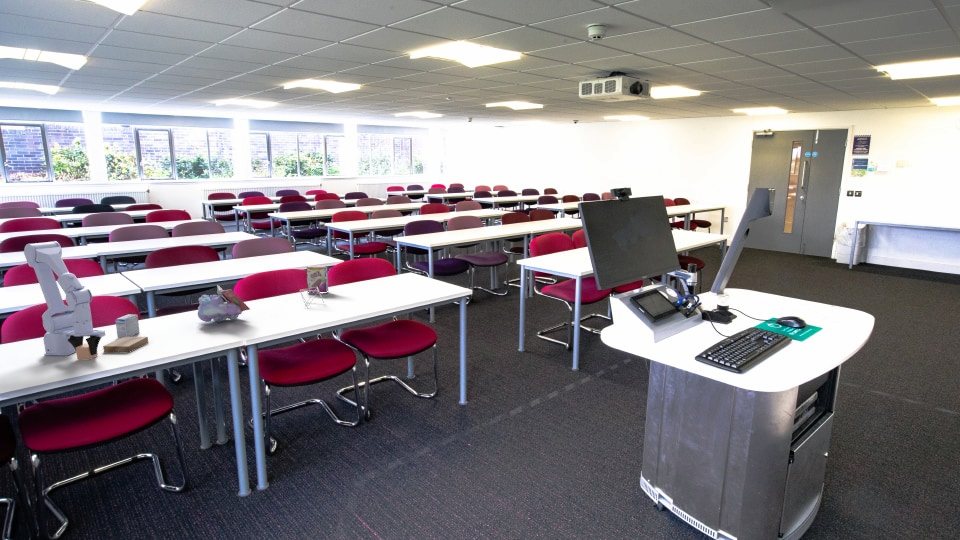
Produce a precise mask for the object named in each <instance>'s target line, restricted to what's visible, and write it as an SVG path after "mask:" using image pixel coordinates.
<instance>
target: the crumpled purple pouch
mask: <svg viewBox="0 0 960 540" xmlns="http://www.w3.org/2000/svg"><path fill="white" fill-rule="evenodd" d="M216 287H217V291H216V293H217V294H210V295H208V294H202V295H201V296H200V297H199V298H198V304H199V306H198V307H197V310H198V311H197V316H198V319H200V320H201V321H202V322H206V323H209V322H211V321H212V320H213V321H215V322H217V323H220V322H223V321H225V320H227V319H229V320H231V321H235V320H237V319H238V318H239V316H240V315H242V313H243V312H245V311H250V310H251V309H250V307H249V306H248V305H247V304H246V303H245V302H244V301H243V300H242V299H241V298H240V297H239V296H238V294H236V292H235V291H234V290H233V289H226V290H225V289H223V288H222V287H221V286H220V285H219V284H216Z"/></svg>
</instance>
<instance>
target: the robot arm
mask: <svg viewBox="0 0 960 540" xmlns="http://www.w3.org/2000/svg"><path fill="white" fill-rule="evenodd" d="M23 249H24V250H23V254H24V256H25V260H26V262H27V264H28V266H29V267H30V268H33V270H34V273H35V275H36V278H37V281H38V283H39V287H40V289H41V292H42V294H43V297H44V300H45V303H46V305H47V309H46V310H45V312H43V314H42V315H41V318H42V319H41V320H42V326H43V328H44V330H45V331H46V333H45V334H44V335H43V345H44V351H45V352H44V354H43V355H44V356H69V355H72V354H74V353H76V347H78V346H80V345H82V344H84V337H87V338H85V341H86V344H88V345H89V349H90V353H91V355H94V354H96V353H98V348H99V343H100V341H101V339H102V338H103V337H105V336H106V331H105V330H99V329H94V326H93V325H94V324H93V319H92V313H91V305H90V303H92V301H93V293H92V292H91V290H90V289H89V288H88V287H86V286H85V285H82V283H81V282H80V281H79V279H78V278H77V276H76V274H74V273H71V272H70V271H69V270H68V268H67V266H66V264H65V262H64V260H63V258H62V255H63V250H62V247H61V244H60V243H59V242H58V241H56V240H53V241H48V242H38V243H37V242H35V243H27V244H26V245H25V246H24V248H23ZM54 273H55V274H56V276H57V277H58V278H57V279H56V277H55V275H54ZM56 280H57V281H56ZM58 286H60V288H61V289H62V291H63V292H64V294H65V302H66V303H67V304H65V302H64V300H63V298H62V297H63V296H62V294H61V292H60V288H59V287H58Z"/></svg>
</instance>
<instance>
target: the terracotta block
mask: <svg viewBox="0 0 960 540" xmlns="http://www.w3.org/2000/svg"><path fill="white" fill-rule="evenodd" d="M75 353H76V354H75V355H76V359H90V360H92V359H94V358H96V357H98V356H99V354H98V352H97V353H96V354H94V355H91V353H90V349H89V345H88V343H83V344H82V345H80V346H78V347H76V352H75ZM97 355H98V356H97ZM95 356H96V357H95ZM93 357H94V358H93ZM91 358H92V359H91Z"/></svg>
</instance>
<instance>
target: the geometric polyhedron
mask: <svg viewBox="0 0 960 540" xmlns="http://www.w3.org/2000/svg"><path fill="white" fill-rule="evenodd" d="M313 288H315V287H313ZM308 289H310V288H308V287H307V288H306V289H305V288H303V289H301V290H299V292H300V295H301V297H302V300H303V303H304V305H305V307H307V308H308V307H310V304H312V303H313V300H314V299H315V297H316V296H317V295H319V297H320V298H321V300H322V304H324V303H325V301H324V299H323V296H322V294H320V291H318V292H319V294H317V293H318V292H317V293H316V294H314V296H313V294H310V297H309V298H308V300H306V299H305V296H304V295H303V292H302V291H304V292H305V291H306V292H308V291H311V290H308ZM317 289H318V287H317ZM315 290H316V289H315ZM318 290H319V289H318ZM313 293H314V292H313ZM312 296H313V298H312V299H311V297H312ZM310 299H311V301H310V302H309V300H310ZM306 303H308V304H307V306H306Z"/></svg>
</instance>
